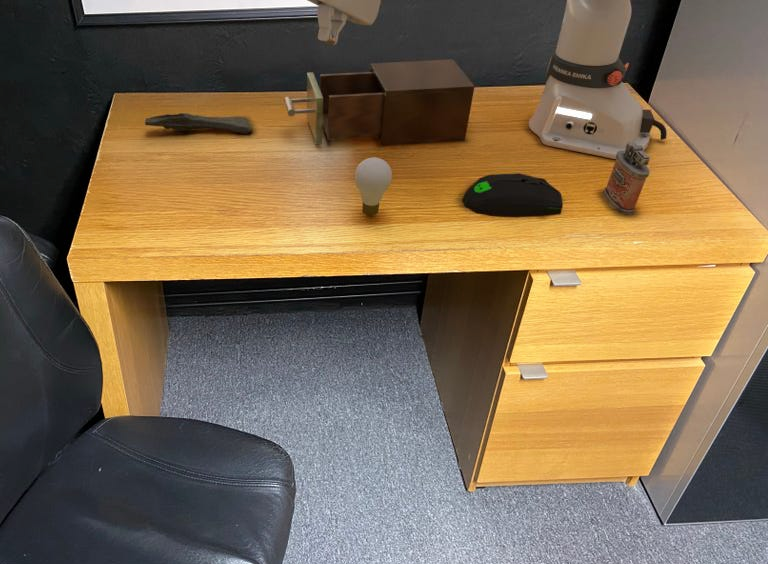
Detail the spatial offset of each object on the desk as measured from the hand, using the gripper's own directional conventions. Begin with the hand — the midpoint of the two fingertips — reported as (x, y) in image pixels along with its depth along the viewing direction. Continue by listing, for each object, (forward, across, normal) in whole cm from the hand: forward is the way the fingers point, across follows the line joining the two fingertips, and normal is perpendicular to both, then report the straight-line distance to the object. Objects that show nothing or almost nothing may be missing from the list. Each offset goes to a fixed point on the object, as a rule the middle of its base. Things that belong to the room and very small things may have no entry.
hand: (326, 42), depth 108 cm
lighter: (+15, +34, -42) cm, 56 cm away
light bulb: (+25, +6, -11) cm, 28 cm away
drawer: (+12, +24, +11) cm, 29 cm away
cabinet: (+8, +35, 0) cm, 36 cm away
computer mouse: (+18, +24, -27) cm, 40 cm away
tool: (+17, +10, +34) cm, 39 cm away
